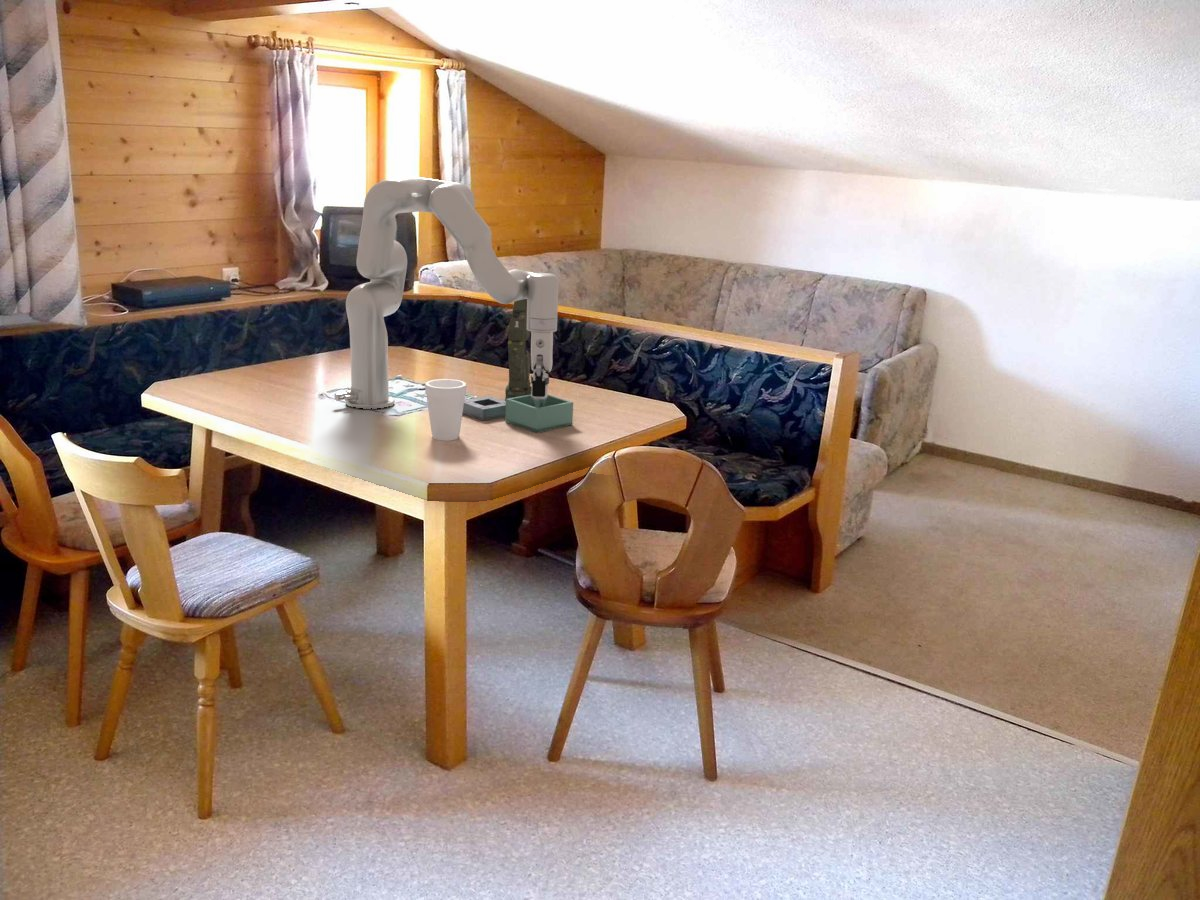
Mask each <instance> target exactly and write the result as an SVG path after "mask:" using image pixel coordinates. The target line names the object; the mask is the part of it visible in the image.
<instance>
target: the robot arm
mask: <svg viewBox="0 0 1200 900" xmlns="http://www.w3.org/2000/svg"><path fill="white" fill-rule="evenodd" d="M475 204H476V198H475V195H474V193H473V191H472V189H471V188H470V187H468V186H467V185H465V184H463V183H461V182H456V181H455V182H453V181H448V180H447V181H445V180H439V179H433V178H426V177H420V176H409V177H406V176H403V177H392V178H386V179H385V180H384V179H383V180H381V181H379V182H377V183H375V184H374V185H373V186H371V187H370V189H369V190H368V192H367V193H366V195H365V198H364V202H363V209H362V211H363V212H362V220H361V227H360V232H359V240H358V247H357V253H356V270H357V271H358V273H359V274H360V275H361V276H362V278H366V279H368V280H370V281H369V282H365V283H360V284H358V285H356V286H354V287H353V288H352V289H351V290H350V291H349V292H348V294H347V296H346V300H345V310H346V311H345V312H346V315H347V320H348V326H349V328H348V329H349V346H350V348H349V349H350V375H351V376H350V381H351V383H350V384H351V386H347V390H346V391H344V392H336V393H334V399H335V401H336V402H337V401H343V400H344V401H345V405H346V404H347V405H346V406H348V407H350V406H351V407H350V408H353V407H356V408H355V409H358V408H363V409H362V410H378V409H377V408H381V409H385V408H384V407H387V408H389V407H388V406H390V407H392V406H394V405H395V404H394V403H396V400H395V397H392V396H390V395H389V393H390V392H389V346H388V345H389V341H388V339H389V338H388V331H387V327H386V322H385V317H388V316H391V315H392V314H395V313H396V311H398V309H399V307H400V306H401V304H402V301H403V295H404V289H405V284H406V283H405V281H406V276H407V269H408V255H407V252H406V250H405V248H404V246H403V245H402V244H401V243H400V242H399V241H397V240H395V238H396V232H397V220H396V215H398V214H405V213H417V212H422V213H428V214H433V215H435V217H436V218H437V219H438V220H439V222H440V223H441V225H442V226H443V227H444V228H445V229H446V230H447V232H448V233H449V234H450V236H451V237H452V238H453V239H454V241H455V242H456V243H457V244H458V246H459V247H460V248H461V250H462V251H463V253H464V256H465V260H466V261H467V263H468V266H469V269H470V270H471V273H472V274H473V276H474V277H475V279H476V280H477V282H478V283H479V285H480V286H481V287H482V288H483V289H484V290H485V292H486V293H487V294H488V295H489V296H490V298H492V299H493V300H494V301H496V302H497V303H499V304H503V305H510V304H514V302H515V301H519V300H522V299H527V330H528V331H531V332H530V360H531V363H530V370H531V371H532V372H533V373H534V375H533V380H532V384H531V387H532V396H535V397H545V385H546V381H545V373H547V374H548V373H551V371H552V370H553V369H552V368H553V363H554V361H553V359H554V358H553V356H554V355H553V354H554V353H553V352H554V351H553V350H554V334H553V333H555V332H557V331H558V312H559V311H558V309H559V306H558V305H559V285H560V283H559V277H558V276H557V275H556V274H554V273H549V272H533V271H526V270H525V269H520V268H519V269H518V268H514V269H511V270H510V269H509V270H508V269H507V268H506V267H505V266H504V264H503V263H502V261H500V259H499V258H498V257H497V255H496V253H495V251H494V248H493V245H492V230H491V227H490V226H489V225H488V224H487V223H486V222H485V220H484V219H483V217H481V215H480V214H479V213H478V212H477V210H476V209H475V207H476V205H475ZM548 375H549V374H548ZM393 404H394V405H393ZM371 408H372V409H371Z"/></svg>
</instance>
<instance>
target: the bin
mask: <svg viewBox="0 0 1200 900" xmlns="http://www.w3.org/2000/svg"><path fill="white" fill-rule="evenodd" d="M531 396H532V394H531V395H525V396H520V397H514V398H508V399H506V416H505V418H504V419H505V423H508V424H511V425H513V426H515V427H516V426H517V427H519V428H522V429H525V430H528V431H531V432H534V433H542V432H547V431H550V430H551V429H552V430H556V429H560V428H559V427H561V428H564V426H566V427H570V426H573V420H574V419H573V416H574V401H570V400H568V399H564V398H561V397H558V396H555V395H551V394H547V406H545V407H540V408H536V407H533V406H531ZM569 425H570V426H569ZM555 428H556V429H555ZM552 430H551V431H552Z"/></svg>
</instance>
